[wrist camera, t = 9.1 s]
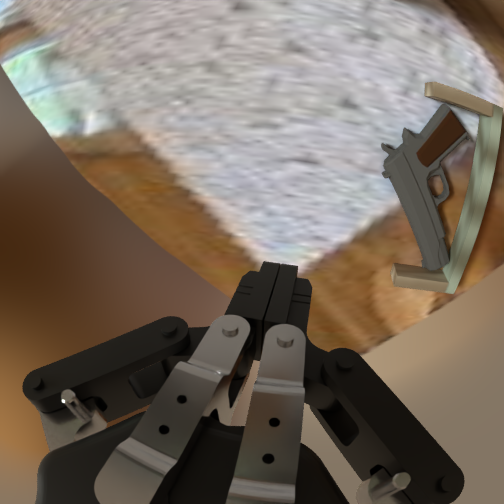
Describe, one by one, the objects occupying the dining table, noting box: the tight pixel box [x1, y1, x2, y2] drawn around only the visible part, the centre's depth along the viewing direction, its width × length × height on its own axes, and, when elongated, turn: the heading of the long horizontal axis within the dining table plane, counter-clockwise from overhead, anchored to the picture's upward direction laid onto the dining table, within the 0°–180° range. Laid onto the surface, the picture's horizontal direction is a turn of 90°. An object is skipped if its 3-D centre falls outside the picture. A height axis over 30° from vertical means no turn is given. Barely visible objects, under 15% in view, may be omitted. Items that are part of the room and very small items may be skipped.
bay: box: [390, 82, 503, 294], centre depth 26 cm, size 25×9×3 cm, turn 179°
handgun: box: [381, 104, 470, 271], centre depth 27 cm, size 3×18×12 cm
